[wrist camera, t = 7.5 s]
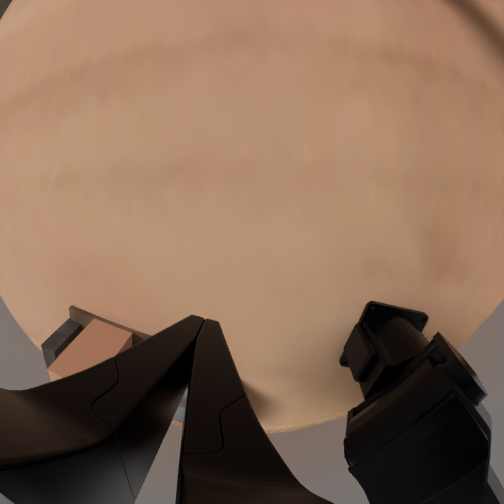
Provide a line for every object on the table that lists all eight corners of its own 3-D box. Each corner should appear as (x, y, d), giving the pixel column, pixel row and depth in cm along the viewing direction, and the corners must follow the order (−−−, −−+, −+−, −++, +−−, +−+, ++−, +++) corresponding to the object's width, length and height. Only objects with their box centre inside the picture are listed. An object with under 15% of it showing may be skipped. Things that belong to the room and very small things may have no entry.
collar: (132, 332, 22) (91, 391, 15) (132, 384, 24) (103, 439, 17) (94, 318, 22) (47, 368, 15) (99, 370, 24) (65, 420, 17)
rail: (231, 358, 23) (222, 404, 18) (218, 403, 25) (209, 444, 20) (70, 304, 23) (38, 332, 18) (76, 352, 25) (51, 382, 20)
